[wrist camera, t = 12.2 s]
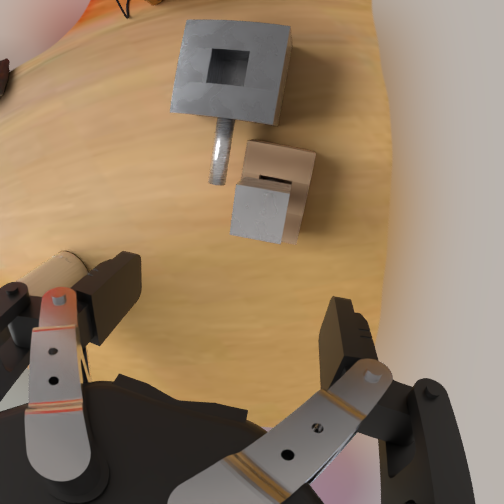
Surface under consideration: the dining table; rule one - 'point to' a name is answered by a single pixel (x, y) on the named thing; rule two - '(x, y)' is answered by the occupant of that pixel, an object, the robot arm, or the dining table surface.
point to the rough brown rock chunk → (3, 75)
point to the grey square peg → (260, 209)
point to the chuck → (231, 78)
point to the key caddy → (283, 177)
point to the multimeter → (152, 0)
